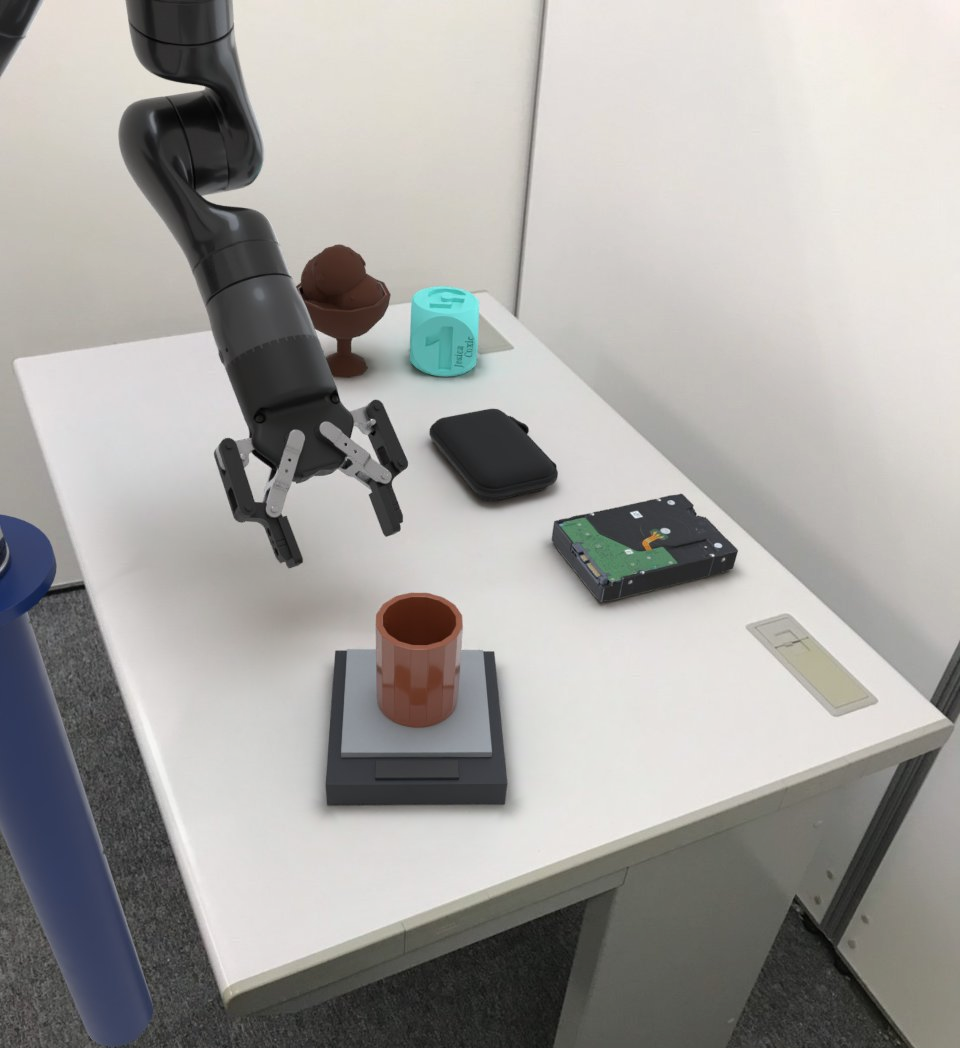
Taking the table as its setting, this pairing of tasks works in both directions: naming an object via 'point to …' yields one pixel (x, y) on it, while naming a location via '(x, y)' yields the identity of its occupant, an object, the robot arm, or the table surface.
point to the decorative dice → (444, 331)
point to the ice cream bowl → (342, 303)
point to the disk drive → (642, 547)
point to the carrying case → (493, 454)
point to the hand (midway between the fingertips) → (346, 549)
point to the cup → (418, 659)
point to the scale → (414, 741)
